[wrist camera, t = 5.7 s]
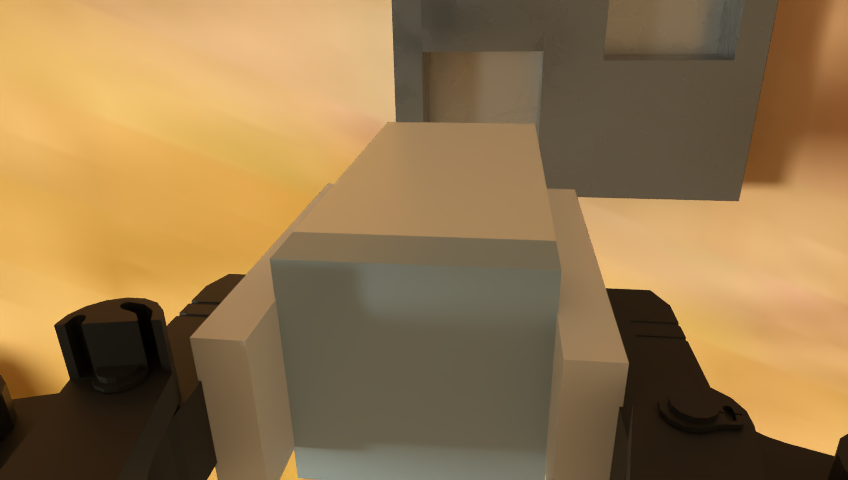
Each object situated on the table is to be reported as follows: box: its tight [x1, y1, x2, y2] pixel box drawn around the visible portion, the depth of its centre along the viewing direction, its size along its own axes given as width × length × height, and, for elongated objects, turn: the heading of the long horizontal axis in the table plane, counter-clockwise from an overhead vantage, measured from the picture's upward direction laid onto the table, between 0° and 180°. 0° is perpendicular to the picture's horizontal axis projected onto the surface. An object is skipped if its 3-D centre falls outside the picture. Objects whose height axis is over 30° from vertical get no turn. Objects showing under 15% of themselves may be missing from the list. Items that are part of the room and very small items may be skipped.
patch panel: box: [392, 0, 778, 201], centre depth 28 cm, size 16×13×3 cm
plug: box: [270, 122, 562, 480], centre depth 13 cm, size 4×4×9 cm
